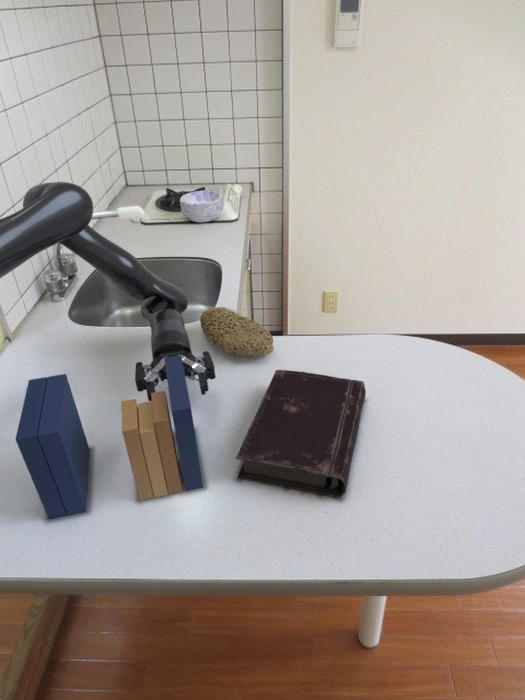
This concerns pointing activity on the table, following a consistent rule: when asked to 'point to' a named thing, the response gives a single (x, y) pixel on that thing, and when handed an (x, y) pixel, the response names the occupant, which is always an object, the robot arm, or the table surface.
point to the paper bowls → (202, 205)
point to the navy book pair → (54, 446)
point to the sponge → (235, 333)
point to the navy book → (183, 422)
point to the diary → (304, 433)
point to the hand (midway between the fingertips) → (178, 395)
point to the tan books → (151, 446)
